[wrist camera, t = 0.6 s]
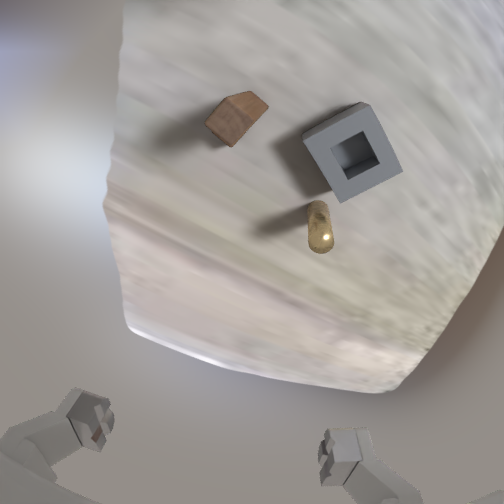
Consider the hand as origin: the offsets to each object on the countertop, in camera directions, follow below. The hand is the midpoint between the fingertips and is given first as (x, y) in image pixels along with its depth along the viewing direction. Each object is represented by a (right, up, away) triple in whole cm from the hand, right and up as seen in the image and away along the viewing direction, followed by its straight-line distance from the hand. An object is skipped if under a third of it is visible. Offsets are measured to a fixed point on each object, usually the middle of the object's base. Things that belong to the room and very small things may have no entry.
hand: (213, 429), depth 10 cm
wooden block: (0, +30, +40) cm, 49 cm away
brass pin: (+14, +14, +47) cm, 51 cm away
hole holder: (+18, +25, +39) cm, 50 cm away
